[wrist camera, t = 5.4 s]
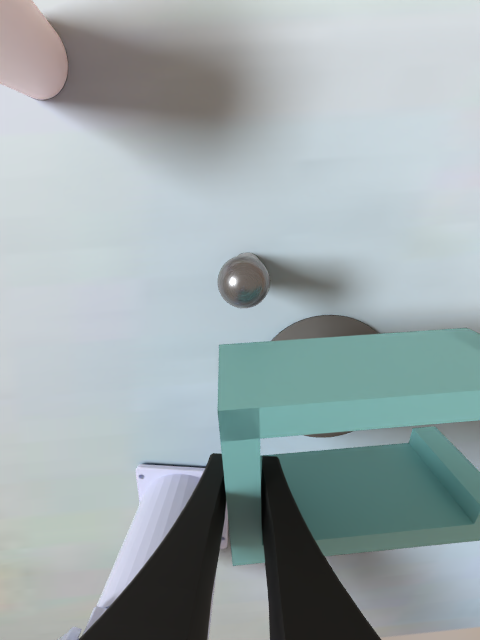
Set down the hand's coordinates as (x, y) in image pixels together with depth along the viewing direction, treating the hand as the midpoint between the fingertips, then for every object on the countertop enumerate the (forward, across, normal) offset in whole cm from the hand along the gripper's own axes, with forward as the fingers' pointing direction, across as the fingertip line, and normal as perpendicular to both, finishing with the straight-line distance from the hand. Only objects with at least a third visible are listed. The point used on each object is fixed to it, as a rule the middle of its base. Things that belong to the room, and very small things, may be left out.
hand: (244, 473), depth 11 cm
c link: (+3, -4, -2) cm, 5 cm away
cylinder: (+9, 0, -8) cm, 12 cm away
